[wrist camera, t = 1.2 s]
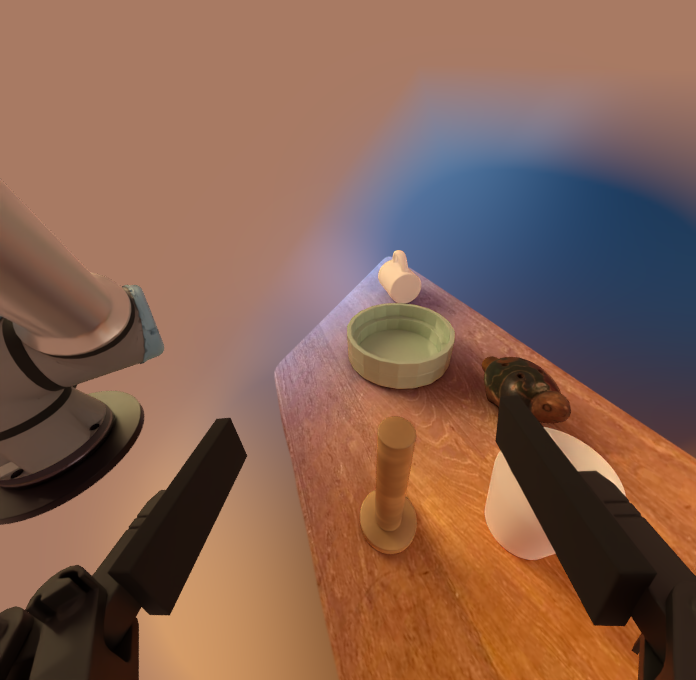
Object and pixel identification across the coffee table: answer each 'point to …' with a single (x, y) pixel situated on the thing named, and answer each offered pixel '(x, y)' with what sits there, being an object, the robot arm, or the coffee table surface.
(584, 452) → the cup
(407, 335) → the bowl
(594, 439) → the coffee table surface
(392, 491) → the wooden peg stand
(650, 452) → the coffee table surface
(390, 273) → the mug
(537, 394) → the decorative turtle
